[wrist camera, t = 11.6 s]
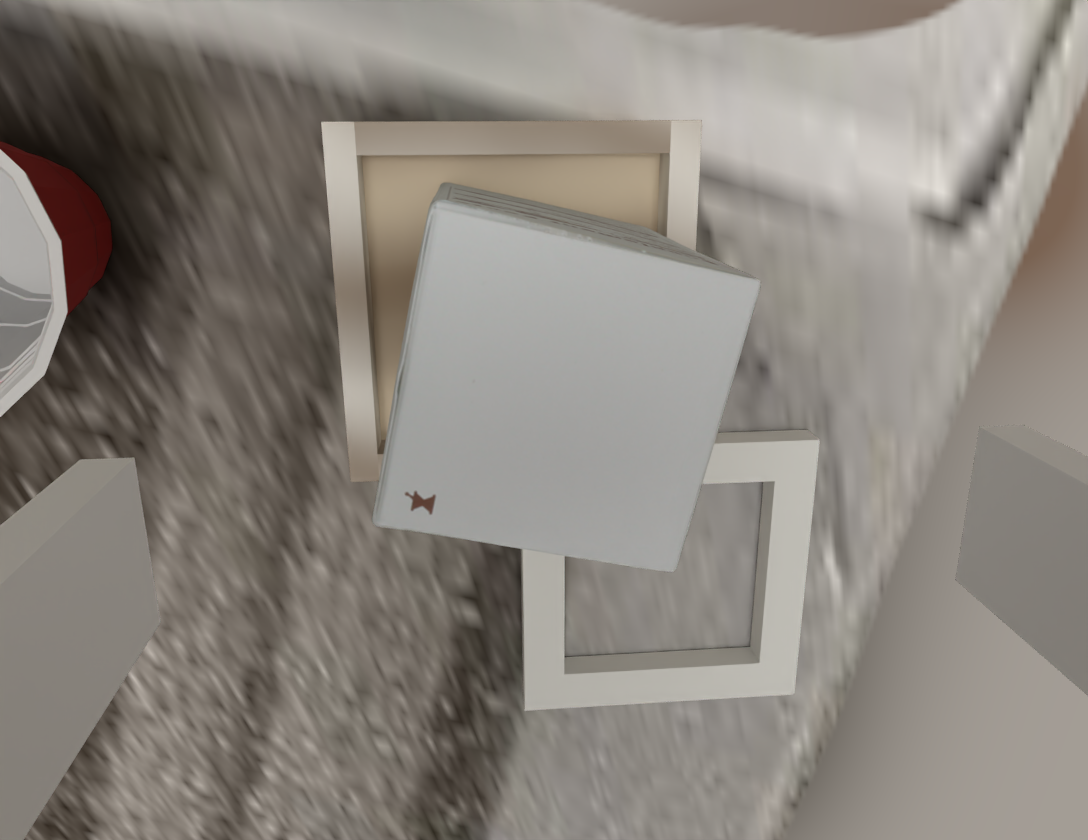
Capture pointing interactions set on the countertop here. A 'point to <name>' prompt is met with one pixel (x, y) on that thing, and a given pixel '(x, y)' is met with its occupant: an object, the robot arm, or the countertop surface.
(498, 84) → the countertop surface
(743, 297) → the supplement box
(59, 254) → the plastic cup
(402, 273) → the tray
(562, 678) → the white flat square frame
